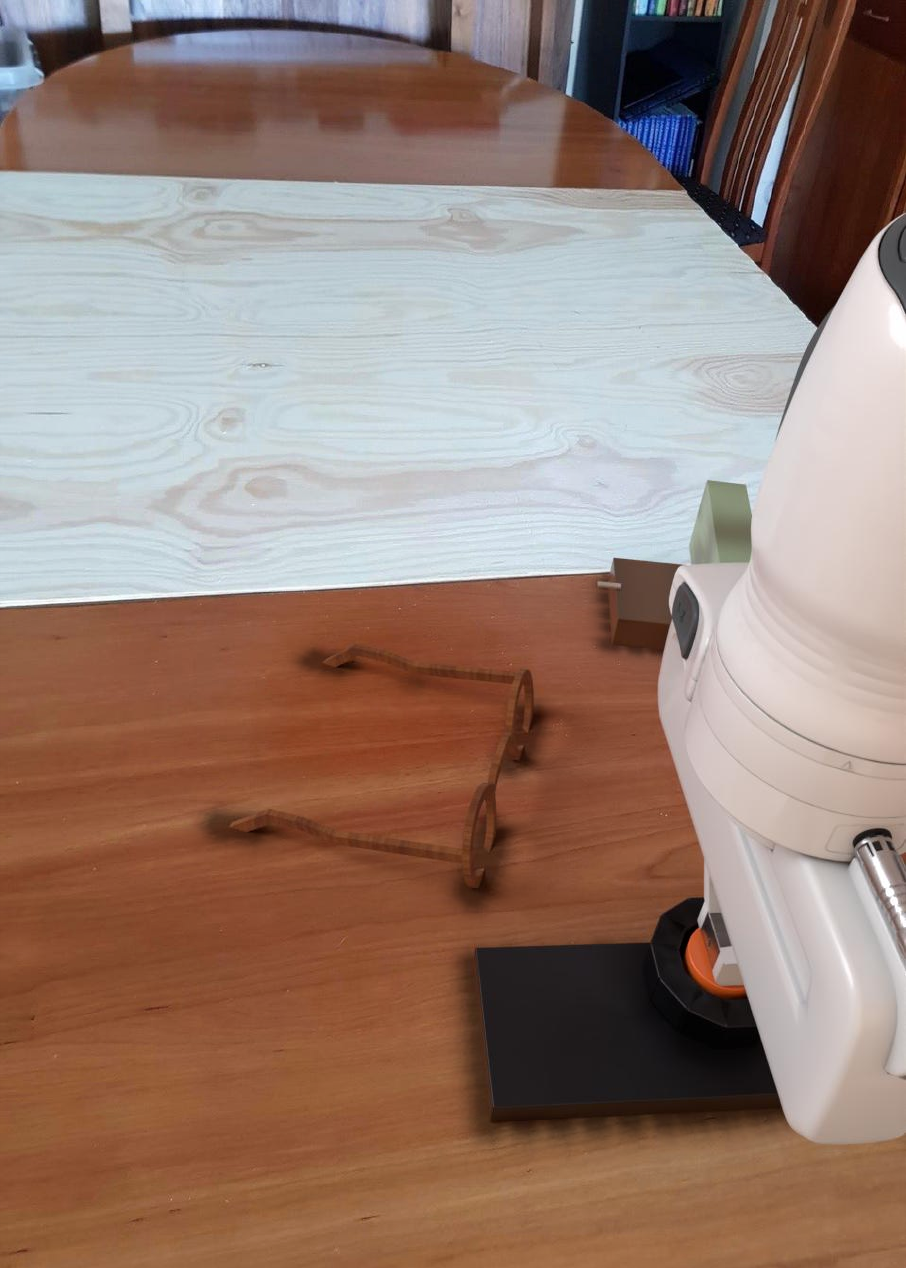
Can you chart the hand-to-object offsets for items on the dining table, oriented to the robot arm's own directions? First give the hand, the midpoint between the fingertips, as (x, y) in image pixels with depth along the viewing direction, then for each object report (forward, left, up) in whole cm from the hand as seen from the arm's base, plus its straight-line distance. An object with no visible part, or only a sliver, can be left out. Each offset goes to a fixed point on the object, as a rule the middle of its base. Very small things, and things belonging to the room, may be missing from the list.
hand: (724, 954), depth 44 cm
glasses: (+4, -19, -4) cm, 20 cm away
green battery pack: (-19, -18, -1) cm, 26 cm away
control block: (+4, -1, -4) cm, 6 cm away
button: (0, 0, -2) cm, 2 cm away
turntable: (-19, -18, -4) cm, 26 cm away
